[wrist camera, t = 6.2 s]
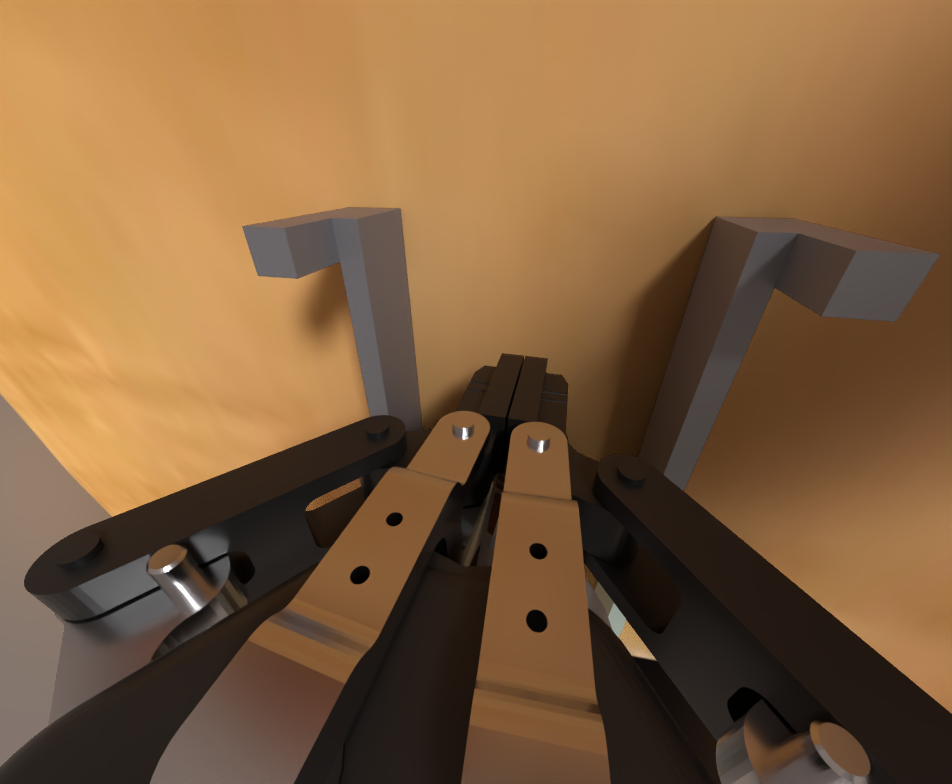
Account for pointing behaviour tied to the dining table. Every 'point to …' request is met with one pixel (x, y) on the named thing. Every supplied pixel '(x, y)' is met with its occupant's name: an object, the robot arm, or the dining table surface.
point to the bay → (700, 335)
